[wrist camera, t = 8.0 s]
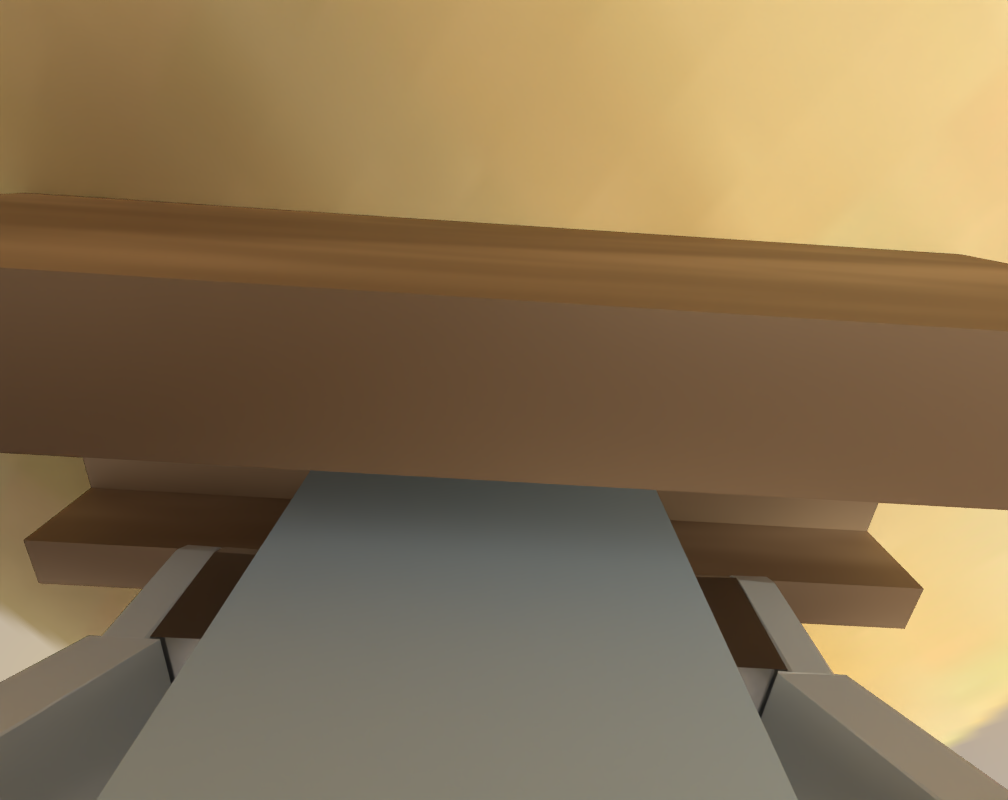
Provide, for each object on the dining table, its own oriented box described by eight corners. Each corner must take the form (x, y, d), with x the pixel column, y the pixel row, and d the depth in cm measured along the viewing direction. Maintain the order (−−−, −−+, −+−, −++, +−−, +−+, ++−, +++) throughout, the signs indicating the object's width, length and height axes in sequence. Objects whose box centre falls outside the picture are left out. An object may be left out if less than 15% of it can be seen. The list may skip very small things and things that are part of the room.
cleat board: (24, 192, 11) (-605, 228, 5) (962, 254, 12) (1512, 362, 5) (112, 517, 15) (-198, 794, 8) (843, 557, 15) (1095, 852, 9)
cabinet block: (367, 383, 11) (-73, 1058, 3) (613, 398, 11) (933, 1096, 3) (373, 540, 12) (108, 1277, 4) (589, 552, 13) (747, 1295, 4)
